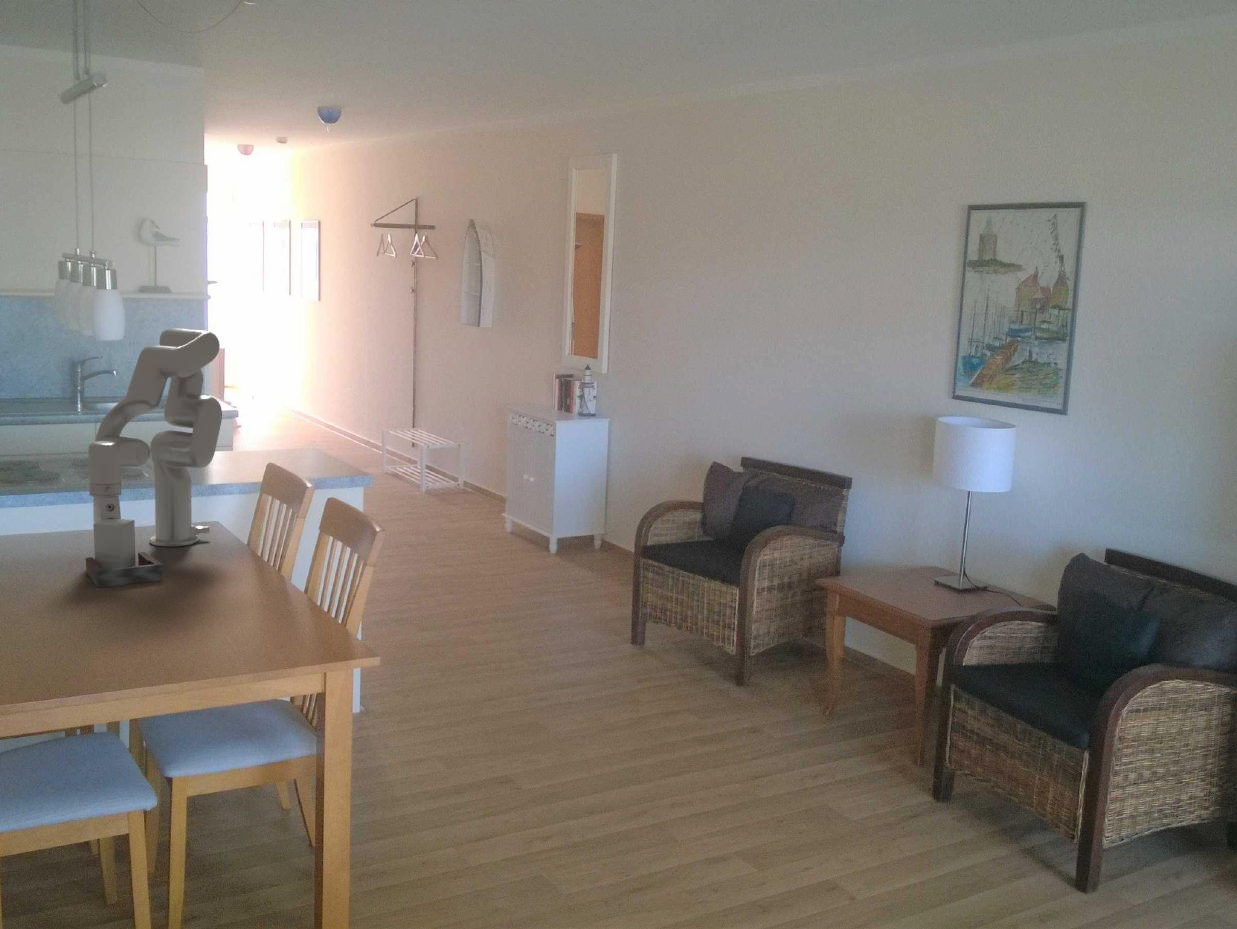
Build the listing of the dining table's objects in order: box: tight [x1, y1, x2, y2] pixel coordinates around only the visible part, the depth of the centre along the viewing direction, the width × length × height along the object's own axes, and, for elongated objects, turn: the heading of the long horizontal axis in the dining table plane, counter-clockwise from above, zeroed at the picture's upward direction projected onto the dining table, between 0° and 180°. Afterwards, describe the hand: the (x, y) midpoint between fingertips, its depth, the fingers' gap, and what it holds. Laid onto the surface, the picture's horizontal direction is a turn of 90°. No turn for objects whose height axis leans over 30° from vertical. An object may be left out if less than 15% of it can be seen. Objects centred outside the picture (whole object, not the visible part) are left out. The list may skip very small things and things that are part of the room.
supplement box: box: [93, 518, 137, 570], centre depth 286 cm, size 7×7×13 cm
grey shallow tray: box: [85, 551, 164, 588], centre depth 281 cm, size 15×14×4 cm
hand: (106, 557), depth 294 cm, fingers closed
